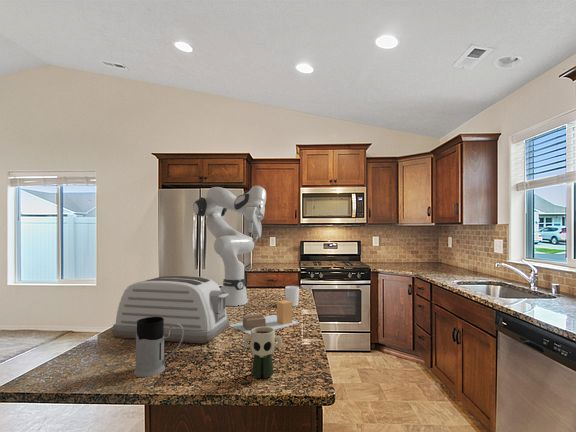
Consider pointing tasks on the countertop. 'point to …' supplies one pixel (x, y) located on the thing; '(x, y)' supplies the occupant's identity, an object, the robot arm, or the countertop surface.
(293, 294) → the white cup
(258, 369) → the character mug
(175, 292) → the toaster
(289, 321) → the orange block
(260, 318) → the walnut plinth
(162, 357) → the glass holder
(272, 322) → the board
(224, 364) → the countertop surface
